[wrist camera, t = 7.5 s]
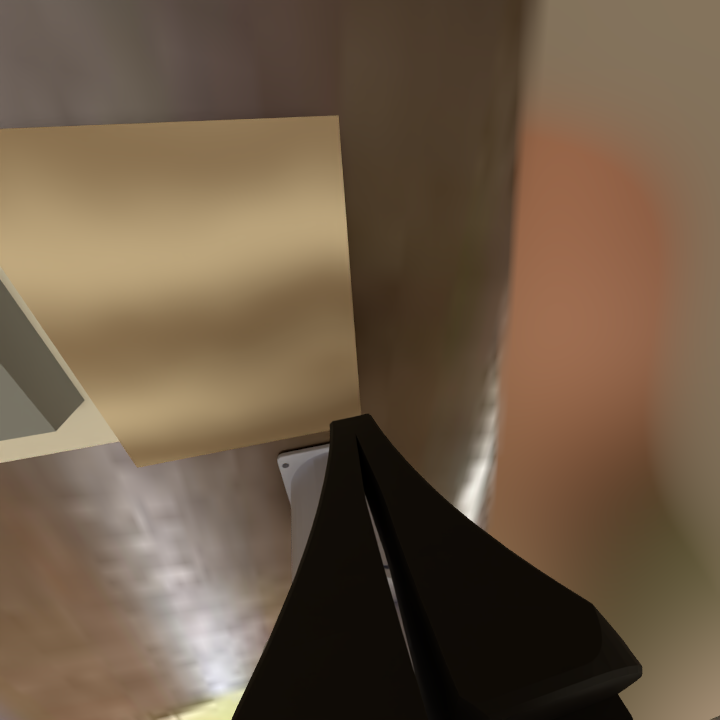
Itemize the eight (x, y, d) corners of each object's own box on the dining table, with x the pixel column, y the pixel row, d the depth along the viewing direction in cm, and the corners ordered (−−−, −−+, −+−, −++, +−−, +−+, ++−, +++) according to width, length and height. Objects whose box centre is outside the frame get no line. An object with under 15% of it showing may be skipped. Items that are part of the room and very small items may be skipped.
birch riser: (349, 384, 21) (361, 423, 17) (163, 416, 19) (137, 467, 16) (325, 131, 13) (338, 115, 10) (18, 146, 12) (-91, 132, 8)
